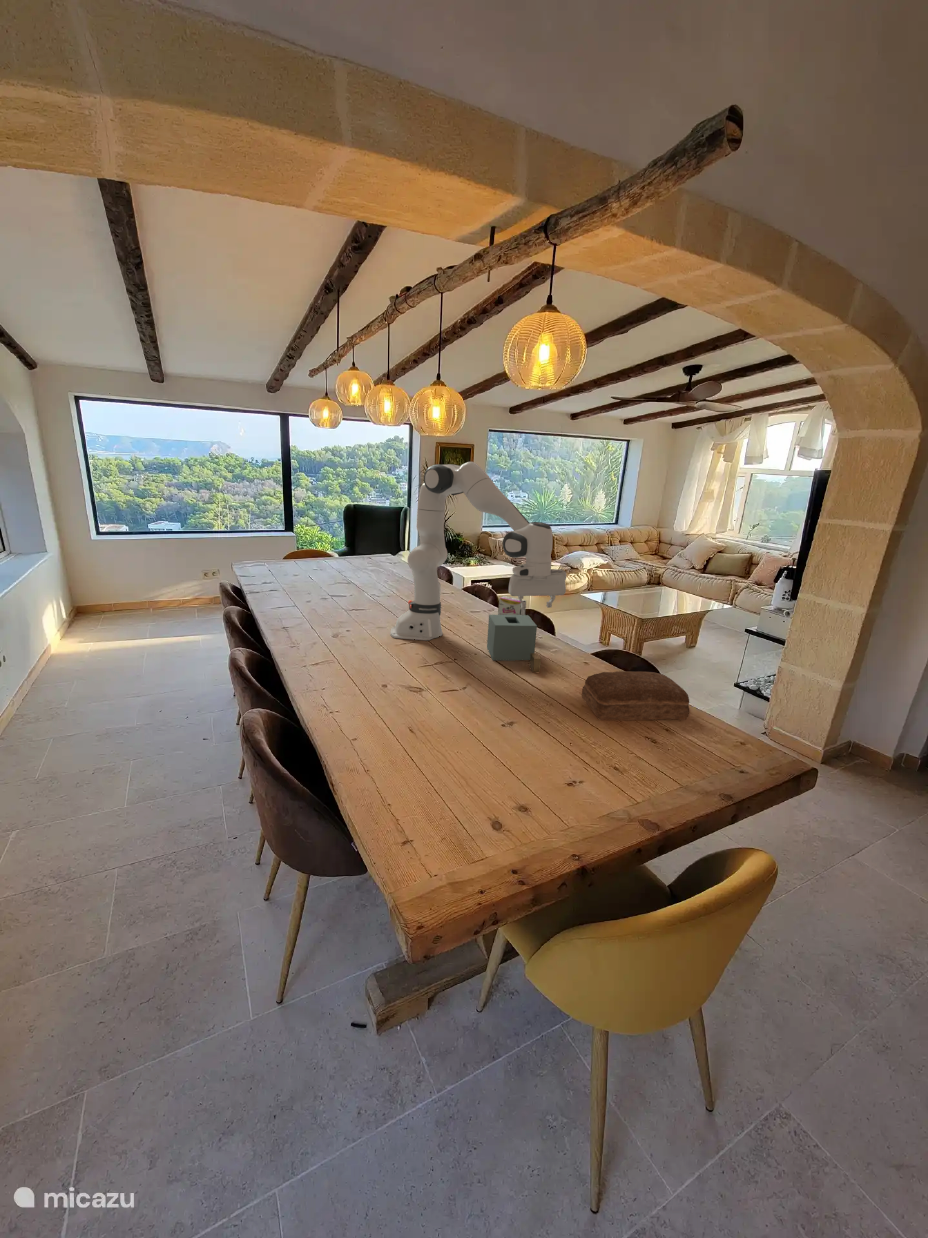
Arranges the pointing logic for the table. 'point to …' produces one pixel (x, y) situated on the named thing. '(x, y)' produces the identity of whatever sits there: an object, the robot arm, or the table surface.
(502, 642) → the coin box
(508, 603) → the candy bar box
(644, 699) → the bread
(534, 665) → the token
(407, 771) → the table surface
